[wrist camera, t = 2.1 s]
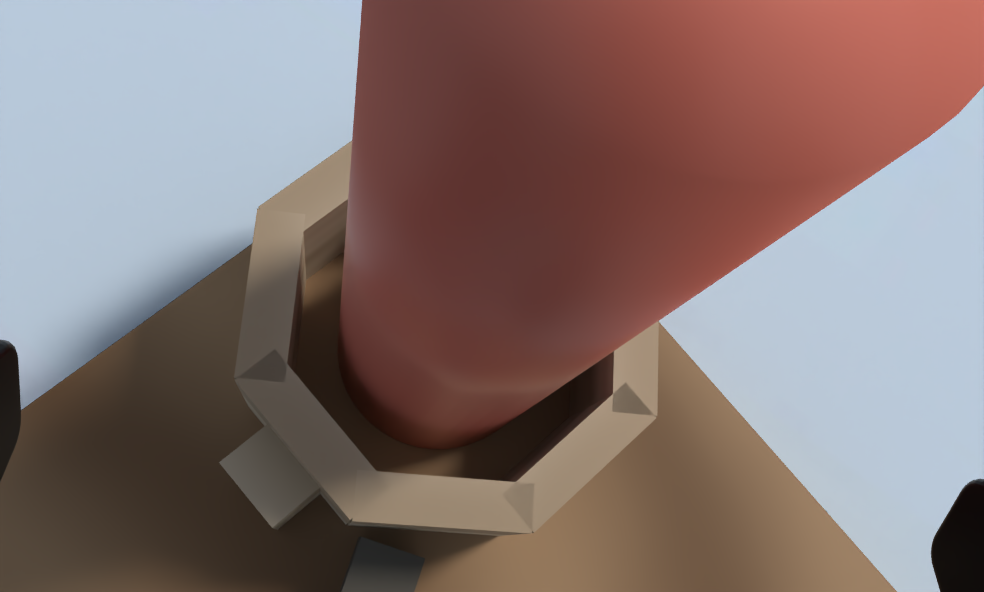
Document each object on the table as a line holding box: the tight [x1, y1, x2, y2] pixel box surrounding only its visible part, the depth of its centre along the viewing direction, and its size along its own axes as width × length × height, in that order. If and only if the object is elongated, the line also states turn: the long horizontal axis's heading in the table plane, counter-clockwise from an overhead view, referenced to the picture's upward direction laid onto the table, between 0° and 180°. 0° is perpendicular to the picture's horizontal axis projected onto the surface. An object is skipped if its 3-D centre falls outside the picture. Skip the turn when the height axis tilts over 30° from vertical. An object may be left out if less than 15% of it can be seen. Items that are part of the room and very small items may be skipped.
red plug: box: [338, 0, 984, 449], centre depth 12 cm, size 4×4×14 cm
